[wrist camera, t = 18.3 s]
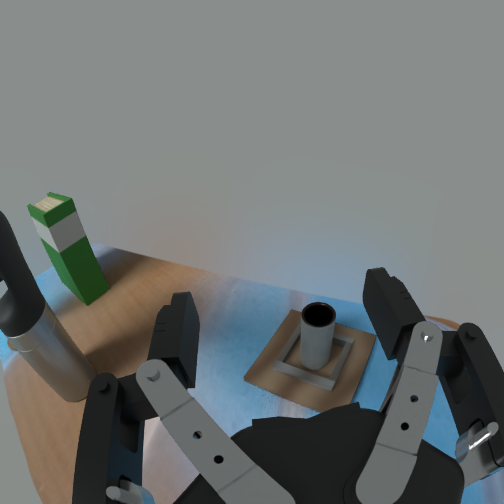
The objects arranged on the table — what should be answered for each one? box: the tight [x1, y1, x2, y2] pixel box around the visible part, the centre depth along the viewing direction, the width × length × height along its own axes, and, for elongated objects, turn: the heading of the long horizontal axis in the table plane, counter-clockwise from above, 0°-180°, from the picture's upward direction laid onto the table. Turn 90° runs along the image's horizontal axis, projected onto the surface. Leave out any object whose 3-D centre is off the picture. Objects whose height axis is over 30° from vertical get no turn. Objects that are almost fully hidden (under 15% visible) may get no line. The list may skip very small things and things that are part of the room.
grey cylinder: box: [300, 302, 336, 370], centre depth 39 cm, size 4×4×10 cm
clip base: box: [244, 309, 376, 413], centre depth 42 cm, size 16×16×2 cm
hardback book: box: [27, 192, 110, 306], centre depth 59 cm, size 18×7×24 cm, turn 56°
